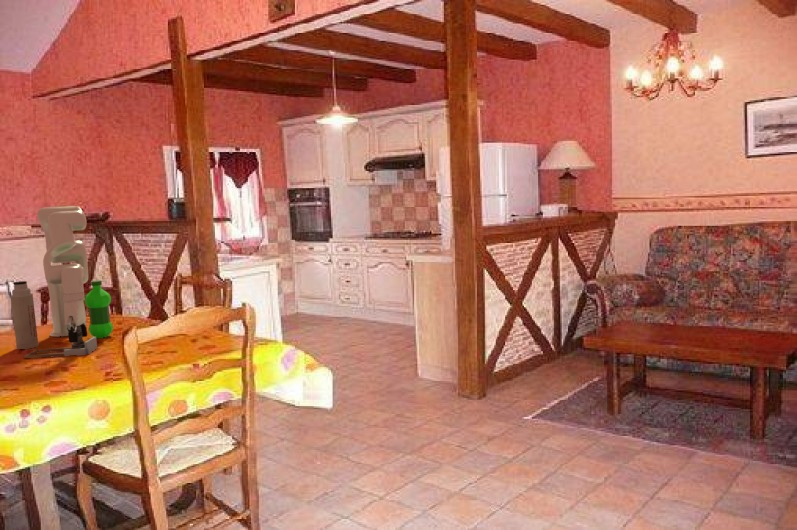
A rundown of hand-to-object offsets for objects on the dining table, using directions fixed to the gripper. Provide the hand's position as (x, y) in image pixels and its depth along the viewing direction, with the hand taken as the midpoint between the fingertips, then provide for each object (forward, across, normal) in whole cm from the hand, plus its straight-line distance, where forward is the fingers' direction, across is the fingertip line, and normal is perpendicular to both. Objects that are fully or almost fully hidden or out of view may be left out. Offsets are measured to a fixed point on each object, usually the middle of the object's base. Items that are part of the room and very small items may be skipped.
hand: (78, 339), depth 261 cm
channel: (+5, 0, -11) cm, 12 cm away
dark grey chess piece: (+6, 0, 0) cm, 6 cm away
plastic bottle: (+6, -28, -1) cm, 29 cm away
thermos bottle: (+6, -16, -27) cm, 32 cm away
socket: (+5, 0, 0) cm, 5 cm away
